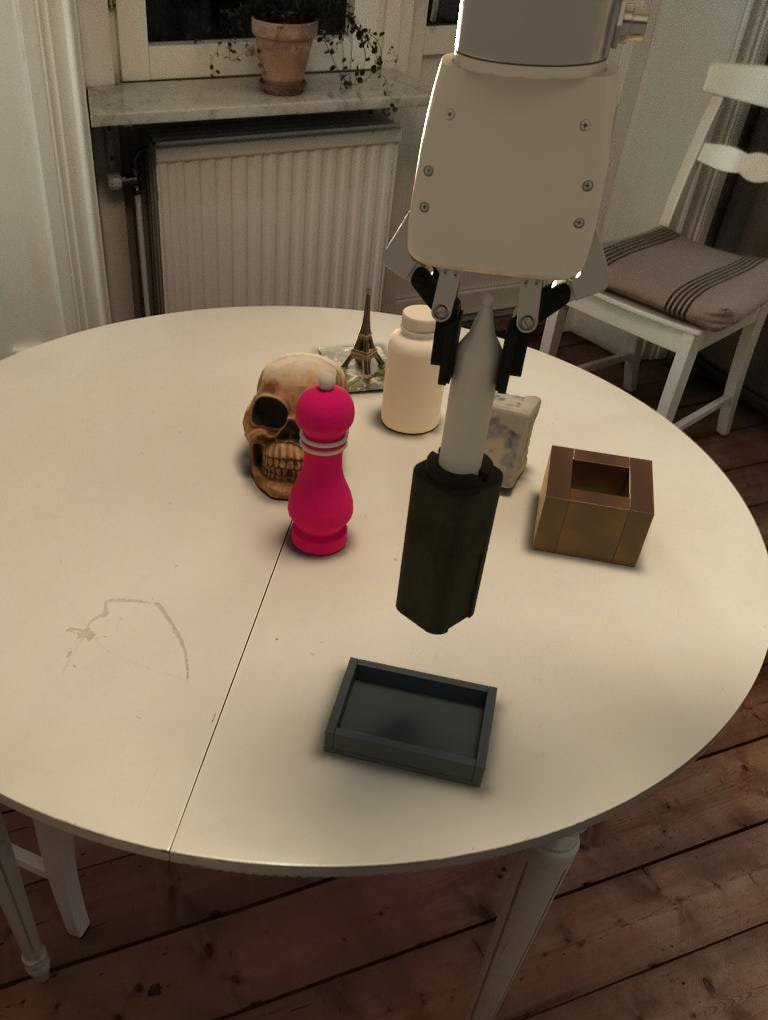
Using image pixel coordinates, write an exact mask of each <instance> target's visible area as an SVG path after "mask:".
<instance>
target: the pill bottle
mask: <svg viewBox="0 0 768 1020" xmlns="http://www.w3.org/2000/svg"><path fill="white" fill-rule="evenodd" d="M435 324H436V320H435V319H433V317H432V314H431V309H430V308H429V307H428V306H427V304H412V305H409V306H407V307H405V308H403V310H402V314H401V322H400V324H399V326H400V327H398V328H396V329H395V330H394V331H393V332H391V334H390V336H389V339H388V341H387V349H386V350H387V351H386V358H387V360H386V370H385V380H384V389H382V390H383V392H382V399H381V400H382V401H381V411H380V412H381V413H380V417H381V421H382V423H383V424H384V425H385V426H386V427H388V428H389V429H390V430H393V431H396V432H398V433H403V434H423V433H427V432H430V431H432V430H434V429H435V428H436V427H437V426H438V424H439V421H440V416H441V410H442V403H443V397H444V390H445V386H444V385H438V376H439V369H440V366H437V365H431V364H430V362H431V354H432V346H433V339H434V331H435Z"/></svg>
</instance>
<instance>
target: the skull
mask: <svg viewBox="0 0 768 1020" xmlns="http://www.w3.org/2000/svg"><path fill="white" fill-rule="evenodd" d="M323 372H330V373H332V374H333V375H334V377H335V380H336V382H335V385H338V386H340V387H342V388H343V389H345V390H346V391H347V392H348V393H349V394H350V392H349V387H348V382H347V379H346V376H345V374H344V372H343V370H342V369H341V367H340V366H339V365H338V364H337V363H335V362H334V361H333V360H331V359H329V358H327V357H325V356H322V355H321V354H317V353H311V352H305V351H304V352H303V351H298V352H297V351H296V352H295V351H294V352H292V351H291V352H286V353H284V354H280V355H277V356H275V357H274V358H272V359H271V360H270V361H269V362H268V363H266V365H264V368H263V369H262V370H261V372H260V375H259V377H258V379H257V385H256V394H255V395H254V396H253V398H252V399H251V400H250V402H249V403H248V405H247V407H246V409H245V411H244V415H243V418H242V427H243V432H244V434H243V435H244V437H245V440H246V441H247V442H248V443H249V444H250V445H249V466H250V470H251V473H252V476H253V479H254V483H255V484H256V485H257V487H259V488H260V489H262V490H263V491H264V492H266V494H267V495H269V496H270V497H271V498H274V499H281V500H289V495H290V492H291V490H292V487H293V485H294V483H295V481H296V479H297V478H298V476H299V473H300V471H301V469H302V465H303V459H304V450H303V449H302V447H301V446H300V442H299V441H300V430H301V429H302V428H301V427H300V426H299V424H298V422H297V420H296V414H295V410H296V404H297V401H298V399H299V396H300V395H301V394H302V393H303V391H305V390H306V389H307V388H309V387H311V386H312V385H316V384H318V377H319V375H321V374H322V373H323ZM347 432H348V435H349V434H350V428H349V429H348V430H347Z"/></svg>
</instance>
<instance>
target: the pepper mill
mask: <svg viewBox="0 0 768 1020" xmlns="http://www.w3.org/2000/svg"><path fill="white" fill-rule="evenodd" d="M335 382H336V380H335V377H334V375H333V374H332V373H330V372H323V373H322V374H321V375H319V377H318V384H316V385H312V386H311V387H309V388H307V389H306V390H305V391H303V393H302V394H301V395H300V396H299V399H298V401H297V404H296V410H295V414H296V420H297V422H298V424H299V426H300V427H301V428H302V429H301V430H300V441H299V442H300V446H301V447H302V449H303V450H304V459H303V465H302V469H301V471H300V473H299V476H298V478H297V479H296V481H295V483H294V485H293V487H292V490H291V492H290V495H289V499H287V500H288V501H287V513H288V515H289V518H290V519H291V521H292V523H291V542H292V544H293V545H294V547H296V548H297V549H298V550H299V551H302V552H303V553H306V554H308V555H314V556H315V555H316V556H325V555H326V556H327V555H331V554H334V553H336V552H339V551H340V550H341V549H342V548H344V546H345V545H346V543H347V539H348V525H347V524H348V523H349V522H350V520H351V519H352V517H353V514H354V499H353V494H352V491H351V488H350V486H349V484H348V482H347V479H346V476H345V474H344V469H343V453H344V451H345V450H346V449H347V448H348V444H349V441H348V440H349V439H348V438H349V434H348V432H347V430H348V429H349V430H350V428H351V427H352V425H353V423H354V421H355V417H356V408H355V402H354V400H353V397H352V395H351V394H350V392H349V393H348V392H347V391H346V390H345V389H343V388H342V387H340V386H338V385H335Z"/></svg>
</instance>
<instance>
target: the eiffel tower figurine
mask: <svg viewBox="0 0 768 1020" xmlns="http://www.w3.org/2000/svg"><path fill="white" fill-rule="evenodd" d="M370 281H371V279H368V286H367V287H366V290H365V293H366V295H365V302H364V303H365V304H364V309H363V315H362V316H363V317H362V322H361V327H360V331H359V333H358V338H357V340H356V343H355V345H354V346H318V349H319V353H320V355H322V356H325V357H327V358H329V359H331V360H333V361H334V362H335V363H337V364H338V365H339V366H340V367H341V369H342V370H343V372H344V374H345V376H346V379H347V382H348V387H349V393H353V392H364V391H375V390H384V380H385V370H386V360H387V355H386V354H385V353H384V351H383V349H382V347H381V346H375V343H374V340H373V335H372V334H373V332H372V329H371V294H372V287H371V286H370V284H371V283H370Z"/></svg>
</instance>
